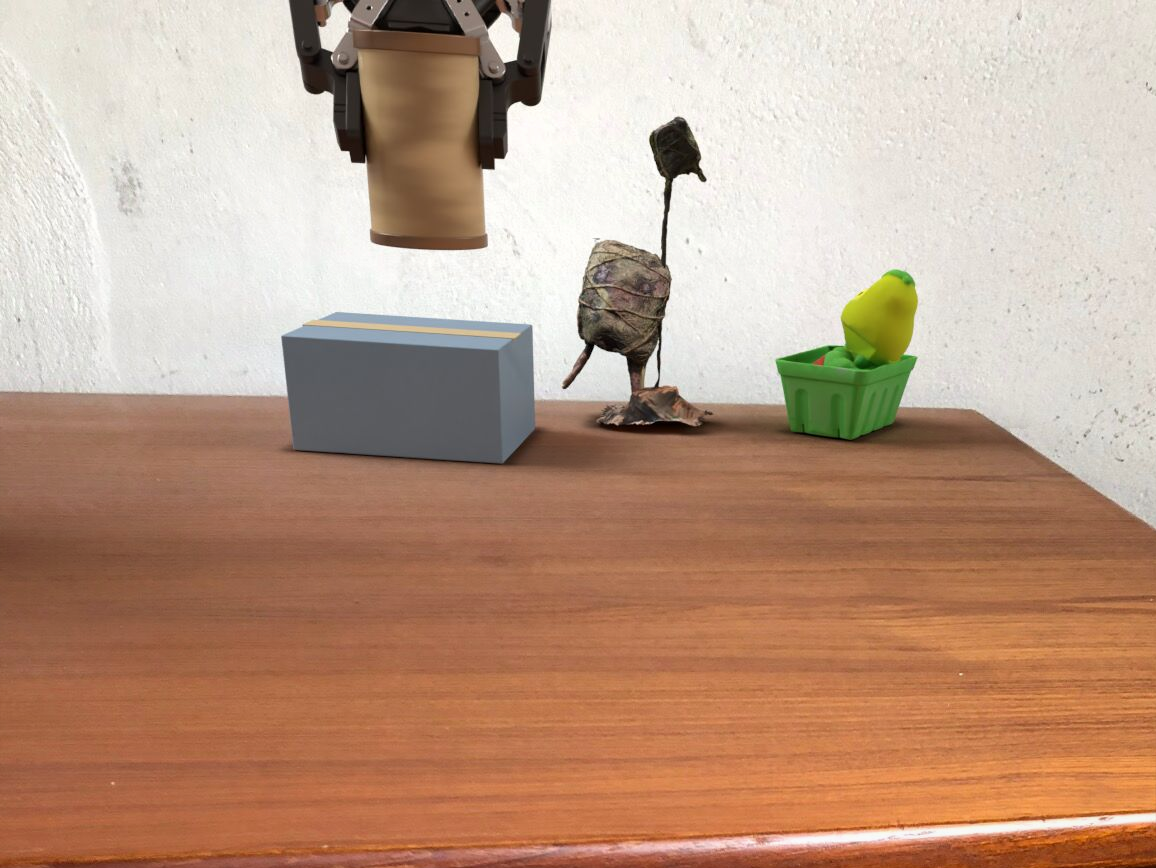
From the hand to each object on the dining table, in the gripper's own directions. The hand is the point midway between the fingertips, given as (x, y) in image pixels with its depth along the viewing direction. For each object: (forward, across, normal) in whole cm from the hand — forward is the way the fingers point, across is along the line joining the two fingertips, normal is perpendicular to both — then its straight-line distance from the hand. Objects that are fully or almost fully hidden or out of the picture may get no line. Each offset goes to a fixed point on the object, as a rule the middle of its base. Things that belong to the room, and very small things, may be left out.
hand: (421, 153), depth 77 cm
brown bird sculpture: (-8, -13, -34) cm, 37 cm away
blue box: (-2, +3, -28) cm, 28 cm away
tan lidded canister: (+2, 0, -4) cm, 5 cm away
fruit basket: (-8, -29, -34) cm, 46 cm away
